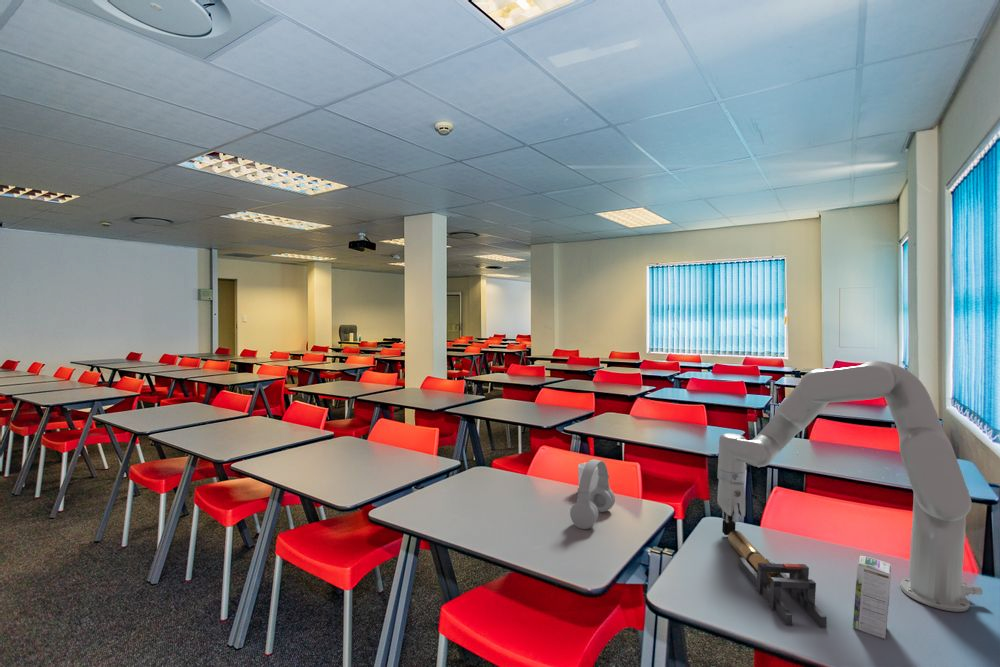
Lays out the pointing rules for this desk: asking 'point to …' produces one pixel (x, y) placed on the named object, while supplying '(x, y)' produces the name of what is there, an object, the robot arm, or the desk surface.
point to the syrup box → (872, 596)
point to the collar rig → (794, 584)
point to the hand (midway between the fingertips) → (728, 533)
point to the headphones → (592, 496)
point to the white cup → (593, 480)
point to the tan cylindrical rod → (748, 552)
